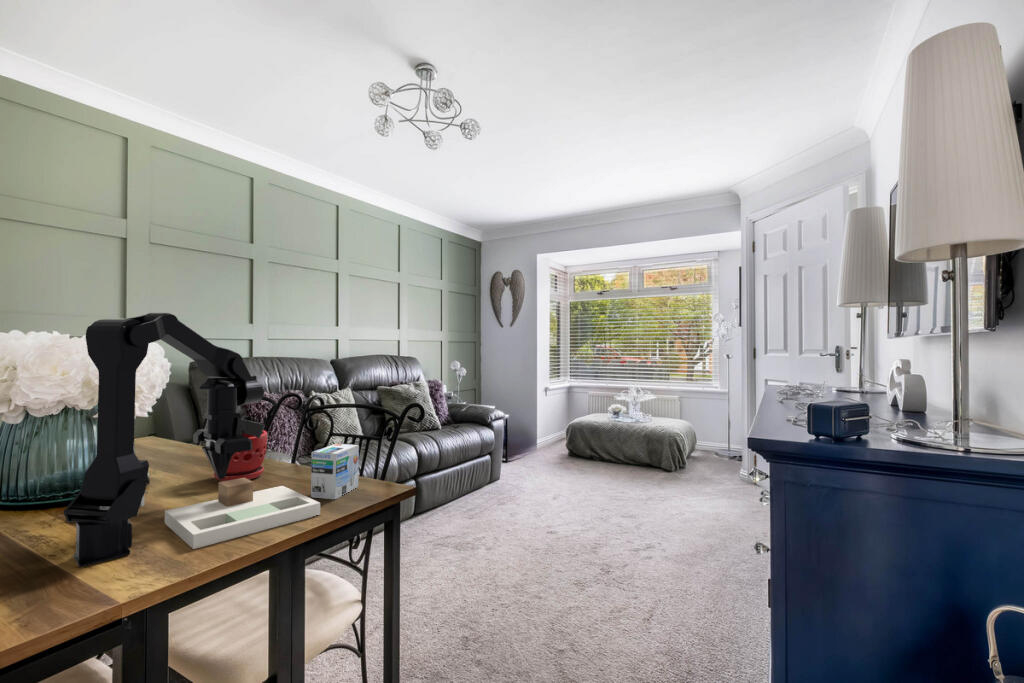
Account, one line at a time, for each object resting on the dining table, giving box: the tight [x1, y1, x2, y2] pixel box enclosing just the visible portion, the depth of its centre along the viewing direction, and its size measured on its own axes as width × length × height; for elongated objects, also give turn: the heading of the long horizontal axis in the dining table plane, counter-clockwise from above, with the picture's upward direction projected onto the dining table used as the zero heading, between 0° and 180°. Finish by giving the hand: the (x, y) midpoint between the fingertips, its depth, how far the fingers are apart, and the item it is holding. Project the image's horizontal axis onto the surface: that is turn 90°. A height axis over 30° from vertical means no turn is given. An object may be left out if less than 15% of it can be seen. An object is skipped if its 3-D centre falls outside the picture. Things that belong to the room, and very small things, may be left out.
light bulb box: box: [310, 443, 360, 500], centre depth 116 cm, size 11×7×11 cm, turn 168°
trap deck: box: [164, 485, 321, 550], centre depth 98 cm, size 23×18×2 cm
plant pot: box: [213, 429, 268, 482], centre depth 127 cm, size 13×13×12 cm
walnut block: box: [217, 478, 254, 507], centre depth 101 cm, size 5×5×4 cm
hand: (221, 478), depth 107 cm, fingers closed
